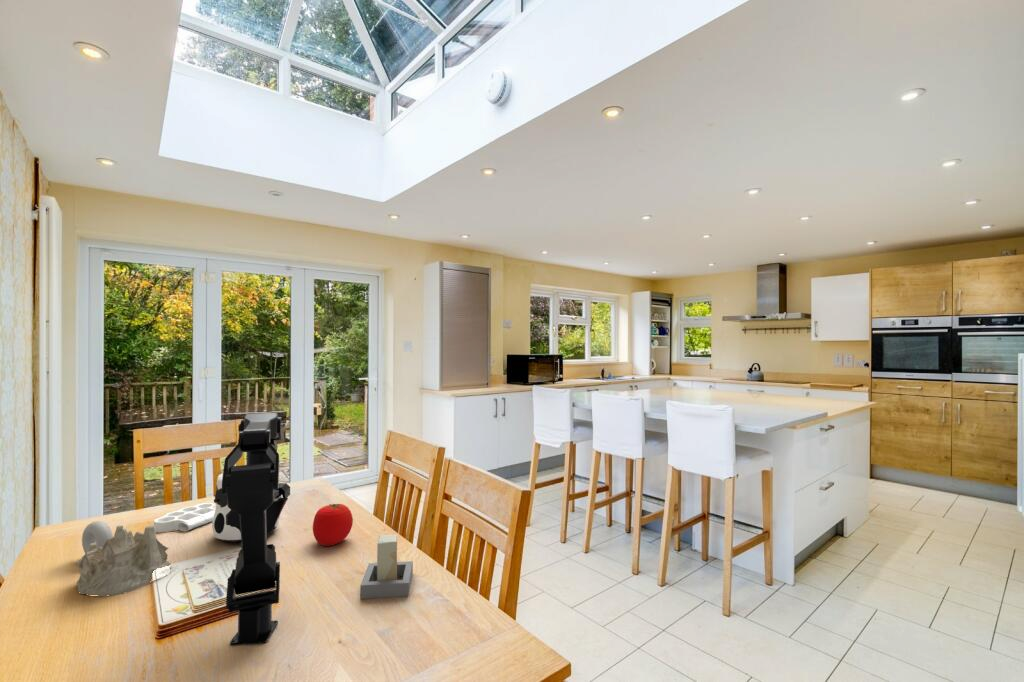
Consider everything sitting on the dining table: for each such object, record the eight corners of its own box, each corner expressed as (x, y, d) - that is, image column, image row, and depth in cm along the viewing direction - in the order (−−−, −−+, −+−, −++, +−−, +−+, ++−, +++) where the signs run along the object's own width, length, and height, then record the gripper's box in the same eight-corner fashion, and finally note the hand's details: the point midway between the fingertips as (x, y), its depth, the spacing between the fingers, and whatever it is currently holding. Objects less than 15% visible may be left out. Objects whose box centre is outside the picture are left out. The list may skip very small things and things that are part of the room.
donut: (78, 559, 121) (79, 520, 121) (94, 553, 125) (95, 516, 125) (100, 566, 117) (100, 526, 117) (116, 561, 121) (116, 522, 121)
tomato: (303, 548, 129) (303, 508, 129) (327, 533, 139) (327, 496, 139) (337, 552, 127) (337, 512, 127) (358, 536, 137) (359, 499, 137)
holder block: (408, 596, 105) (408, 582, 105) (360, 598, 104) (360, 585, 104) (412, 573, 115) (412, 561, 115) (368, 575, 114) (368, 563, 114)
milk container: (219, 527, 143) (220, 468, 143) (282, 520, 149) (283, 463, 149) (204, 551, 127) (205, 484, 127) (276, 542, 133) (276, 478, 133)
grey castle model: (179, 572, 115) (175, 511, 115) (93, 607, 101) (89, 537, 101) (151, 560, 123) (148, 503, 123) (68, 590, 109) (64, 526, 109)
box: (395, 590, 107) (396, 542, 107) (376, 592, 106) (376, 543, 107) (397, 579, 112) (397, 533, 113) (378, 581, 112) (378, 534, 112)
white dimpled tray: (178, 537, 136) (142, 531, 141) (232, 516, 153) (198, 511, 158) (178, 526, 136) (142, 519, 141) (232, 506, 153) (199, 500, 158)
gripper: (242, 460, 111) (241, 526, 111) (198, 484, 92) (197, 563, 92) (291, 459, 112) (290, 524, 112) (257, 483, 94) (256, 561, 94)
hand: (260, 541), depth 102 cm, fingers open, 9 cm apart
